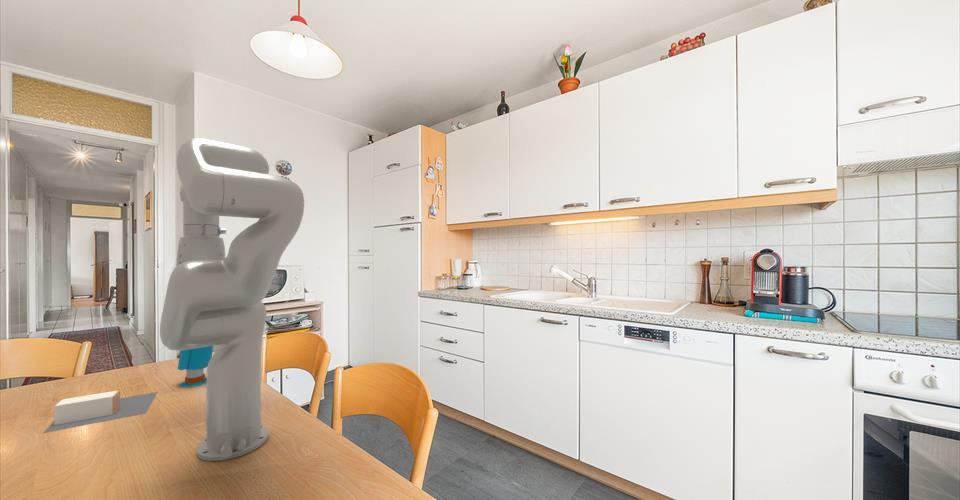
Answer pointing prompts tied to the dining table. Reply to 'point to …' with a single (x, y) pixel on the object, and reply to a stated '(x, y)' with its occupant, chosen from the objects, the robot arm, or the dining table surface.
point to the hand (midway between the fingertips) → (202, 301)
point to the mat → (127, 409)
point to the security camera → (194, 365)
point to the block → (87, 407)
